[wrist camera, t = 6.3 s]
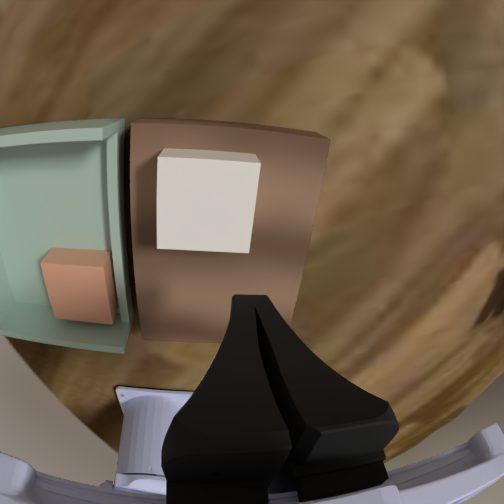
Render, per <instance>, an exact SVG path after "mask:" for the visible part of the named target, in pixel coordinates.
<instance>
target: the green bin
mask: <svg viewBox="0 0 504 504" xmlns="http://www.w3.org/2000/svg"><path fill="white" fill-rule="evenodd" d="M124 134H125V118H111V119H87V120H70V121H58V122H47V123H37V124H28V125H20V126H13V127H6V128H0V335H3V336H8V337H13V338H18V339H23V340H28V341H34V342H40V343H45V344H51V345H58V346H64V347H71V348H78V349H86V350H94V351H102V352H111V353H121V354H124V353H125V349H126V345H127V341H128V337H129V333H130V329H131V325H132V321H133V317H134V311H133V303H132V295H131V286H130V276H129V265H128V253H127V239H126V222H125V197H124ZM52 247H54V248H71V249H89V250H108V251H112V258H113V267H114V275H115V283H116V290H117V297H118V304H119V307H118V310H117V313H116V316H115V319H114V322H113V325H112V324H102V323H92V322H83V321H74V320H66V319H58V318H55V317H54V313H53V310H52V307H51V303H50V300H49V296H48V292H47V289H46V285H45V281H44V277H43V273H42V269H41V264H40V262H41V261H42V260H43V258H44V257H45V256H46V255H47V253H48V252H49V251H50V250H51V248H52Z"/></svg>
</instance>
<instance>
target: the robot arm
mask: <svg viewBox="0 0 504 504" xmlns="http://www.w3.org/2000/svg"><path fill="white" fill-rule="evenodd" d="M116 394H117V397H118V400H119V403H120V406H121V409H122V412H123V415H124V418H123V425H122V432H121V439H120V446H119V454H118V462H117V471H116V475H115V481H114V485H112V483H113V482H112V481H109V480H106V482H104V483H102V484H101V485H100V487H98V486H93V485H88V484H83V483H78V482H74V481H70V480H66V479H62V478H58V477H54V476H51V475H47V474H44V473H41V472H37V471H35V469H34V468H33V467H32V466H31V465H30V464H28V463H27V462H25V461H23V460H21V459H19V458H16V457H13V456H10V455H7V454H5V453H2V452H0V504H460V503H462V502H464V501H466V500H467V499H469V498H471V497H473V496H474V495H476V494H478V493H480V492H481V491H483V490H484V489H486V488H487V487H489V486H490V485H491V484H493V483H494V482H496V481H497V480H499V479H500V478H501V477H503V476H504V435H503V433H502V432H501V430H500V428H499V426H498V424H497V423H494V424H492V425H490V426H488V427H486V428H484V429H482V430H480V431H479V432H478V433H476V434H475V435H474V436H473V437H471V439H470V440H469V441H468V442H467V443H464V444H462V445H460V446H458V447H455V448H453V449H451V450H448V451H446V452H443V453H441V454H438V455H436V456H433V457H430V458H428V459H425V460H423V461H419V462H417V463H414V464H411V465H408V466H405V467H402V468H398V469H395V470H392V471H389V472H387V471H386V469H385V466H384V463H383V460H385V459H386V456H385V453H384V450H383V449H384V448H385V447H386V446H387V444H388V443H389V442H390V441H391V440H392V439H393V438H394V437H395V435H396V434H397V432H398V430H399V424H398V421H397V419H396V417H395V414H394V412H393V410H392V408H391V407H390V405H389V403H388V402H387V401H385V400H383V399H381V398H379V397H377V396H374V395H372V394H370V393H368V392H366V391H365V390H363V389H361V388H360V387H358V386H356V385H355V384H353V383H351V382H350V381H348V380H347V379H345V378H344V377H342V376H341V375H340V374H338V373H337V372H336V371H334V370H333V369H332V368H330V367H329V366H328V365H326V364H325V363H324V362H323V361H322V360H321V359H320V358H318V357H317V356H316V355H315V354H314V353H313V352H312V351H311V350H310V349H309V348H308V347H307V346H306V345H305V344H304V343H303V342H302V340H301V339H300V338H299V337H298V336H297V335H296V334H295V332H294V331H293V330H292V329H291V328H290V326H289V325H288V324H287V323H286V321H285V320H284V319H283V317H282V316H281V315H280V313H279V312H278V310H277V309H276V308H275V306H274V305H273V303H272V302H271V300H270V299H269V297H268V296H267V295H245V294H235V295H233V296H232V301H231V312H230V320H229V323H228V327H227V330H226V333H225V336H224V338H223V341H222V343H221V346H220V348H219V350H218V353H217V355H216V357H215V359H214V361H213V363H212V364H211V366H210V368H209V370H208V371H207V373H206V375H205V377H204V378H203V380H202V381H201V383H200V384H199V386H198V387H197V388H196V390H195V391H194V392H186V391H168V390H153V389H142V388H131V387H122V386H118V387H116Z"/></svg>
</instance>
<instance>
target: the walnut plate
mask: <svg viewBox="0 0 504 504" xmlns="http://www.w3.org/2000/svg"><path fill="white" fill-rule="evenodd" d="M329 145H330V139H328V138H326V137H324V136H322V135H320V134H318V133H316V132H310V131H303V130H297V129H290V128H282V127H274V126H266V125H257V124H247V123H237V122H225V121H211V120H194V119H168V118H141V119H139V120H137V121H135V122H132V123H131V139H130V205H131V231H132V248H133V262H134V274H135V285H136V295H137V304H138V313H139V321H140V329H141V336H142V339H144V340H158V341H175V342H196V343H222V341H223V338H224V336H225V333H226V330H227V327H228V323H229V320H230V312H231V301H232V296H233V295H235V294H245V295H267V296H268V297H269V299H270V300H271V302H272V303H273V305H274V306H275V308H276V309H277V310H278V312H279V313H280V315H281V316H282V317H283V319H284V320H285V321H286V323H287V324H288V325H289V326H290V323H291V319H292V316H293V312H294V308H295V304H296V300H297V295H298V291H299V287H300V283H301V279H302V275H303V270H304V266H305V262H306V258H307V253H308V249H309V244H310V240H311V235H312V231H313V226H314V221H315V217H316V212H317V207H318V202H319V197H320V192H321V187H322V182H323V177H324V172H325V167H326V162H327V156H328V151H329ZM164 148H171V149H194V150H211V151H225V152H238V153H249V154H256V156H257V158H258V159H259V161H260V163H261V167H260V174H259V182H258V189H257V197H256V204H255V212H254V219H253V227H252V234H251V242H250V250H249V253H233V252H213V251H193V250H173V249H157V162H158V156H159V155H160V153H161V152H162V151H163V149H164Z"/></svg>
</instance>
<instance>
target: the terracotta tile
mask: <svg viewBox="0 0 504 504" xmlns="http://www.w3.org/2000/svg"><path fill="white" fill-rule="evenodd" d="M40 264H41V269H42V273H43V277H44V281H45V285H46V289H47V292H48V296H49V300H50V303H51V307H52V310H53V313H54V317H55V318H58V319H66V320H74V321H83V322H92V323H102V324H112V325H113V322H114V319H115V316H116V313H117V310H118V307H119V304H118V297H117V290H116V283H115V275H114V267H113V258H112V251H108V250H89V249H71V248H54V247H52V248H51V250H50V251H49V252H48V253H47V255H46V256H45V257H44V258H43V260H42V261H41V262H40Z"/></svg>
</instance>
